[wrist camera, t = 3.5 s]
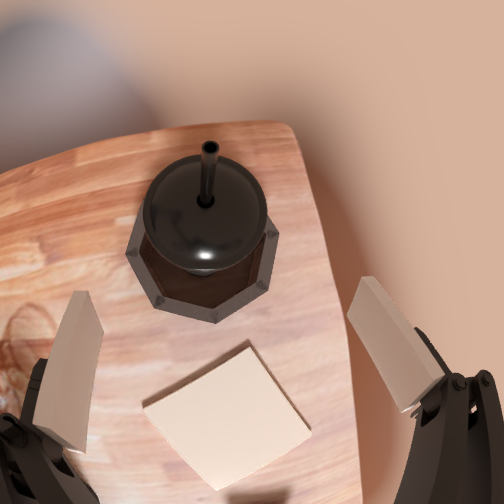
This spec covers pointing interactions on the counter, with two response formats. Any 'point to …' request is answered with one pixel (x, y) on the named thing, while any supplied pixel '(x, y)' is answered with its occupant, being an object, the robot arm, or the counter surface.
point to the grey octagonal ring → (257, 286)
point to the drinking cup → (205, 212)
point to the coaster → (229, 421)
